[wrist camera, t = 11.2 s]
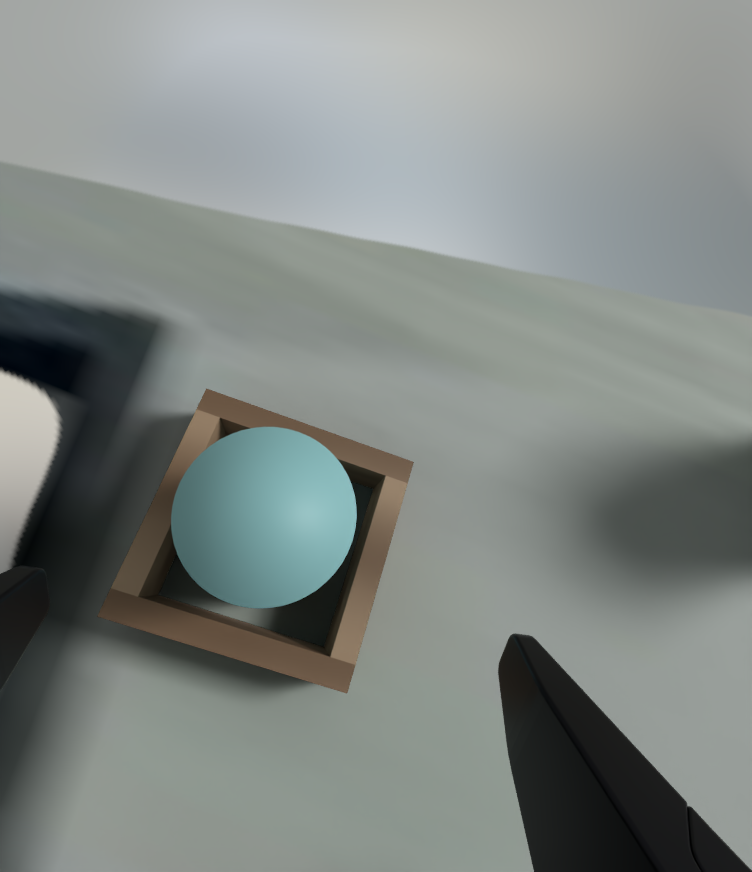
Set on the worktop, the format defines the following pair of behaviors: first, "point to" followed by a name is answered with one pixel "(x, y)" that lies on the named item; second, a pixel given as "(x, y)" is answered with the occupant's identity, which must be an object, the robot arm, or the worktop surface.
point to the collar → (220, 634)
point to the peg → (263, 517)
